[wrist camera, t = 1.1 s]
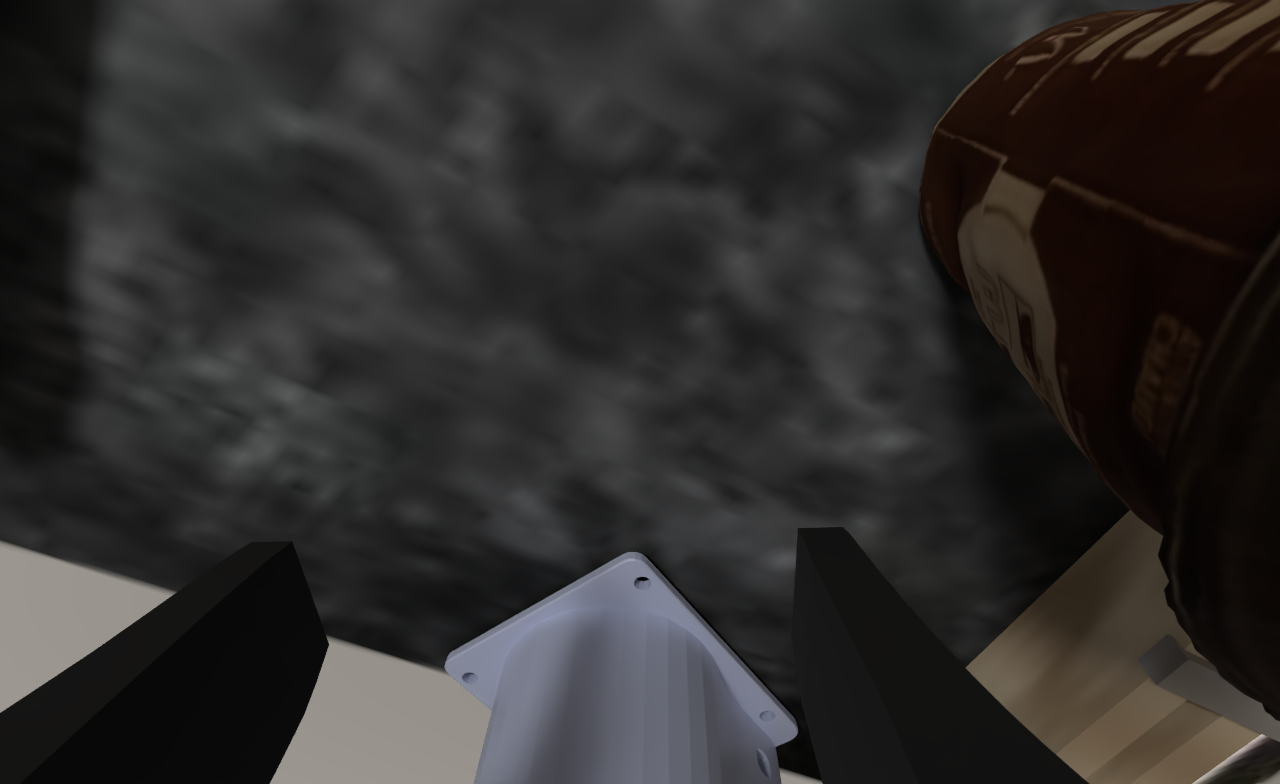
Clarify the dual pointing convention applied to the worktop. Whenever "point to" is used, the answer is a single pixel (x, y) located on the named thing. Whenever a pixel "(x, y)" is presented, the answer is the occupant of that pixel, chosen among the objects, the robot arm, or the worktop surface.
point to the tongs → (1118, 672)
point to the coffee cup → (1142, 281)
